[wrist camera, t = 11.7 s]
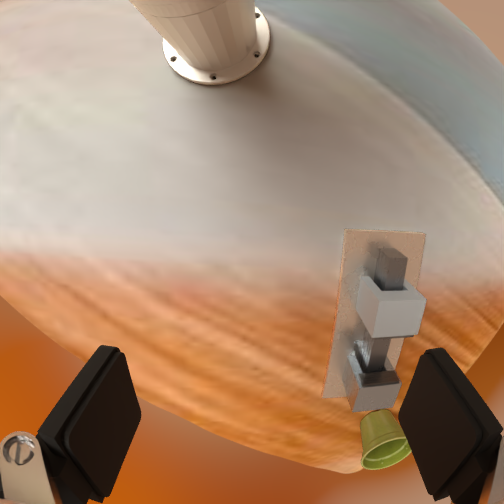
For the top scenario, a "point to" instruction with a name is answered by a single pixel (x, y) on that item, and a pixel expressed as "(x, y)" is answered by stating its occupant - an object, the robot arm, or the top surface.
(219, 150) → the top surface
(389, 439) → the plant pot
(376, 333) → the grey block
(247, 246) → the top surface
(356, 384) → the rail
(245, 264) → the top surface
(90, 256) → the top surface
